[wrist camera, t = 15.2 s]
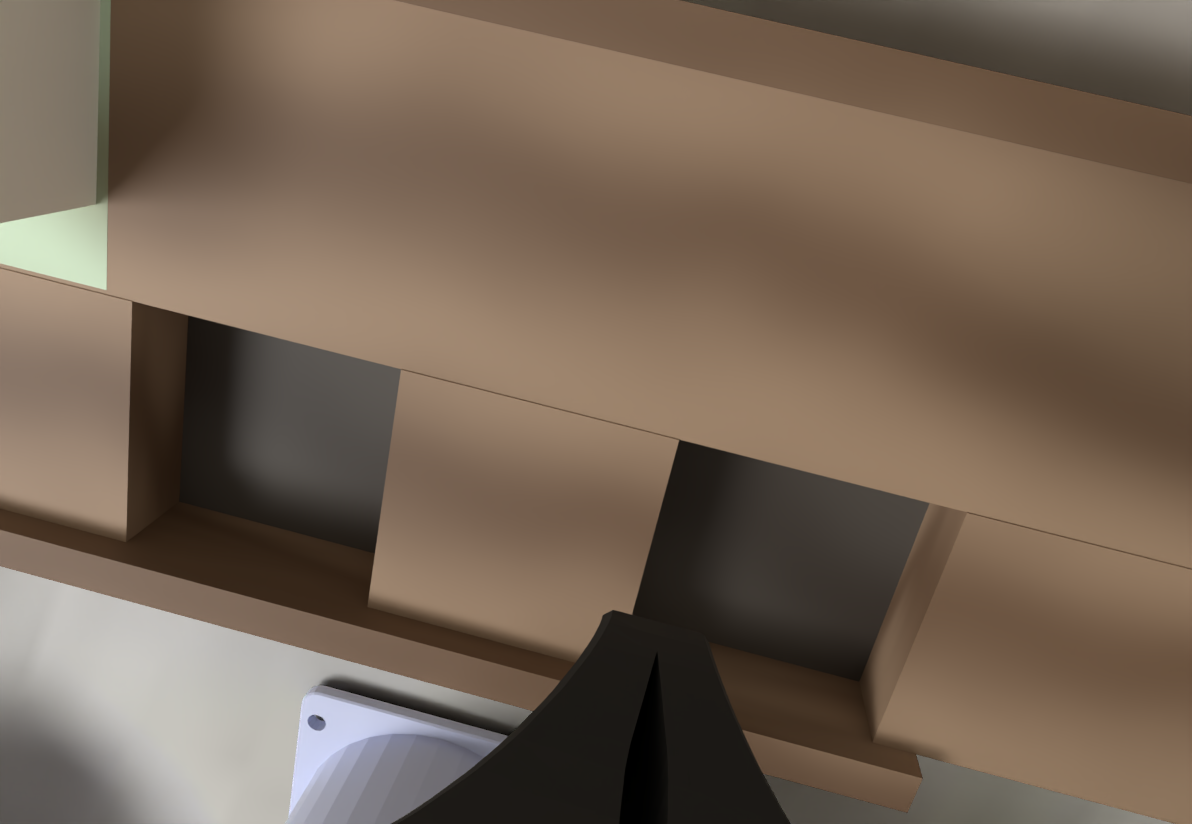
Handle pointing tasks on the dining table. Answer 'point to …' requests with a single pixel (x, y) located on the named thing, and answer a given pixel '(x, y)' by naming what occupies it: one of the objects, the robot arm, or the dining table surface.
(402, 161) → the trap box
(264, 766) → the dining table surface
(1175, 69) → the dining table surface
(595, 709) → the robot arm
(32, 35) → the block
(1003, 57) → the dining table surface
